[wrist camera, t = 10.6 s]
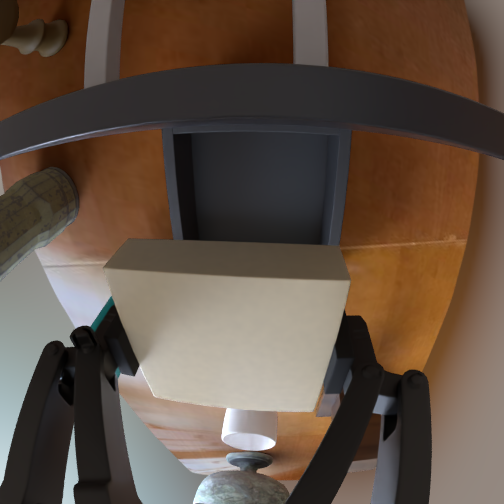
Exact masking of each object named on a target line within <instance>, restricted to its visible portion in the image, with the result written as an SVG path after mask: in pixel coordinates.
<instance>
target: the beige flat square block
mask: <svg viewBox="0 0 504 504" xmlns="http://www.w3.org/2000/svg"><path fill="white" fill-rule="evenodd" d="M103 270H104V273H105V276H106V280H107V283H108V286H109V289H110V292H111V295H112V298H113V301H114V303H115V306H116V309H117V312H118V314H119V317H120V320H121V322H122V325H123V327H124V329H125V332H126V334H127V337H128V339H129V342H130V344H131V347H132V349H133V351H134V354H135V356H136V358H137V360H138V363H139V365H140V368H141V370H142V372H143V374H144V376H145V378H146V380H147V383H148V385H149V387H150V389H151V391H152V393H153V395H154V397H157V398H162V399H167V400H173V401H178V402H184V403H191V404H198V405H205V406H213V407H222V408H232V409H243V410H257V411H279V412H313V411H314V409H315V406H316V403H317V400H318V397H319V394H320V391H321V388H322V385H323V381H324V378H325V374H326V371H327V368H328V365H329V361H330V358H331V355H332V351H333V348H334V344H335V343H336V339H337V335H338V332H339V328H340V324H341V320H342V317H343V313H344V309H345V305H346V300H347V296H348V292H349V288H350V283H351V279H350V276H349V273H348V270H347V267H346V264H345V261H344V258H343V255H342V252H341V249H340V246H332V245H308V244H283V243H256V242H227V241H196V240H163V239H128V240H127V241H126V242H125V243H124V244H123V245H122V246H121V247H120V248H119V250H118V251H117V252H116V253H115V254H114V255H113V256H112V258H111V259H110V260H109V261H108V262H107V263H106V265H105V266H104V267H103Z"/></svg>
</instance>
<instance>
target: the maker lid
mask: <svg viewBox="0 0 504 504" xmlns="http://www.w3.org/2000/svg"><path fill="white" fill-rule="evenodd" d="M124 3H125V0H92V3H91V9H90V16H89V24H88V32H87V43H86V56H85V77H84V89H82V90H78V91H75V92H72V93H69V94H66V95H63V96H60V97H57V98H54V99H52V100H49V101H46V102H44V103H41V104H39V105H36V106H34V107H31V108H29V109H27V110H24V111H22V112H20V113H17V114H15V115H13V116H11V117H9V118H7V119H5V120H3V121H0V160H2V159H5V158H8V157H12V156H15V155H18V154H22V153H26V152H29V151H33V150H37V149H41V148H45V147H49V146H54V145H58V144H63V143H67V142H72V141H77V140H83V139H88V138H94V137H100V136H106V135H113V134H120V133H127V132H135V131H144V130H154V129H164V128H175V127H189V126H205V125H236V124H264V125H295V126H312V127H325V128H337V129H346V130H356V131H365V132H374V133H382V134H389V135H396V136H402V137H408V138H414V139H420V140H425V141H431V142H436V143H440V144H445V145H450V146H454V147H458V148H463V149H467V150H471V151H474V152H478V153H482V154H486V155H489V156H493V157H496V158H499V159H502V160H504V113H502V112H500V111H498V110H495V109H493V108H491V107H488V106H486V105H483V104H481V103H478V102H476V101H473V100H471V99H468V98H465V97H462V96H460V95H457V94H454V93H451V92H448V91H445V90H441V89H438V88H435V87H431V86H428V85H424V84H421V83H417V82H413V81H409V80H405V79H400V78H396V77H391V76H387V75H382V74H376V73H371V72H365V71H359V70H352V69H345V68H337V67H328V33H327V12H326V0H292V10H293V64H284V63H240V64H220V65H207V66H196V67H187V68H179V69H172V70H165V71H159V72H153V73H147V74H142V75H137V76H132V77H127V78H123V79H119V69H120V47H121V33H122V21H123V12H124Z"/></svg>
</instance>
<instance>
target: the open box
mask: <svg viewBox="0 0 504 504" xmlns="http://www.w3.org/2000/svg"><path fill="white" fill-rule="evenodd" d="M351 135H352V130H346V129H337V128H325V127H312V126H295V125H264V124H236V125H205V126H189V127H175V128H164V129H162V140H163V153H164V164H165V174H166V184H167V193H168V202H169V210H170V218H171V225H172V232H173V239H174V240H196V241H227V242H256V243H283V244H308V245H332V246H339V243H340V237H341V230H342V223H343V215H344V208H345V199H346V191H347V182H348V172H349V161H350V149H351Z"/></svg>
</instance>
